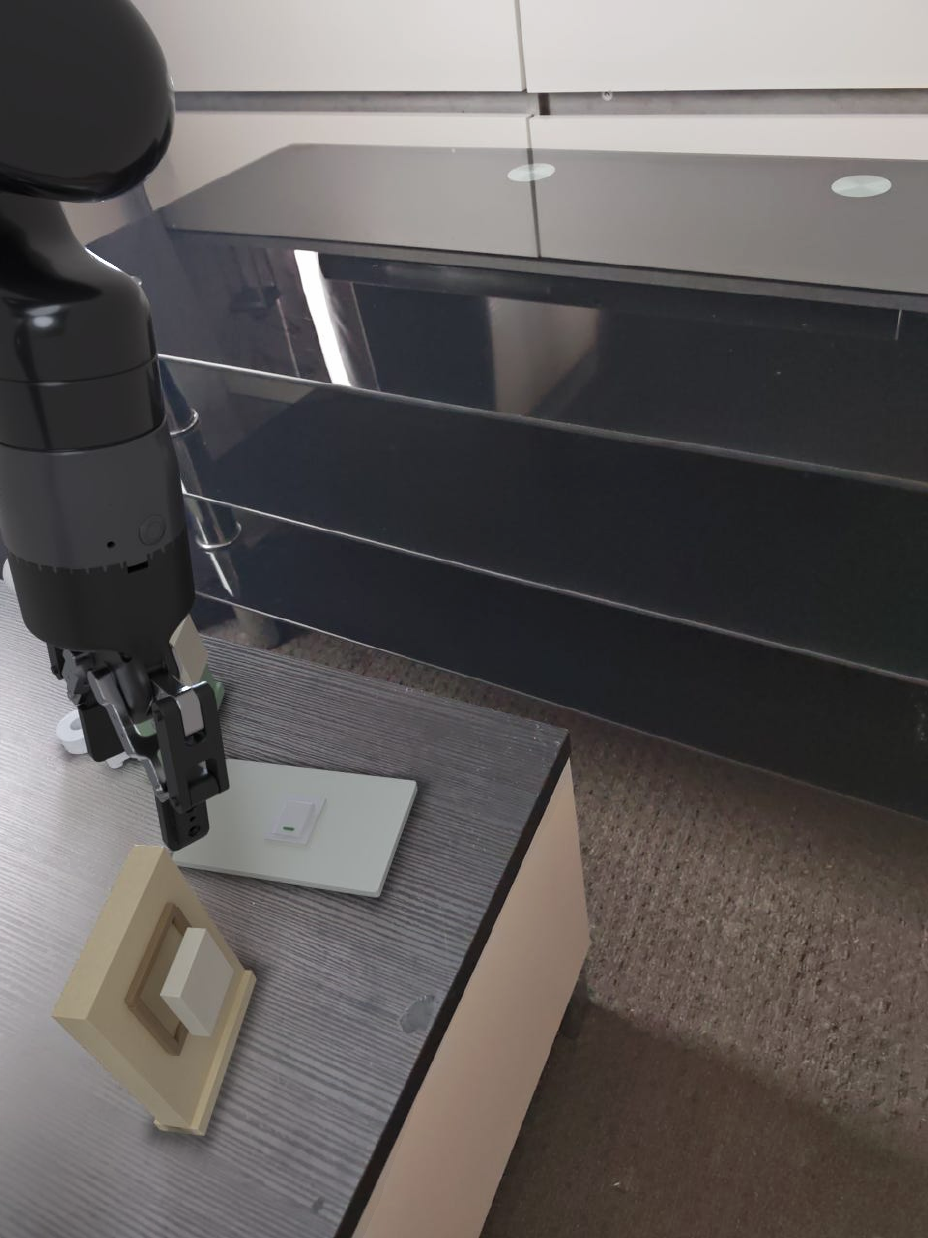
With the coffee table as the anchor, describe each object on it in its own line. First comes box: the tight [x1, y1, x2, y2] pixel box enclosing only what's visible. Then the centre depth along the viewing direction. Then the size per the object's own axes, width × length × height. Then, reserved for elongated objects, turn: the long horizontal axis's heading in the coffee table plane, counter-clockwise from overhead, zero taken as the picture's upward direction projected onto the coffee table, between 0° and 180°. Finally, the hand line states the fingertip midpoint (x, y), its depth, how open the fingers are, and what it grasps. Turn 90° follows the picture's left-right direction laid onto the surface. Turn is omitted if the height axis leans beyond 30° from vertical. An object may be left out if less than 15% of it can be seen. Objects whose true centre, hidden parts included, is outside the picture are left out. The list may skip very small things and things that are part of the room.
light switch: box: [171, 758, 419, 898], centre depth 72 cm, size 17×1×10 cm
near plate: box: [50, 844, 258, 1137], centre depth 54 cm, size 3×10×16 cm, turn 171°
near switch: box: [160, 927, 234, 1037], centre depth 52 cm, size 1×4×5 cm, turn 171°
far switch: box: [169, 613, 210, 687], centre depth 74 cm, size 1×4×5 cm, turn 176°
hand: (147, 794), depth 49 cm, fingers open, 8 cm apart
